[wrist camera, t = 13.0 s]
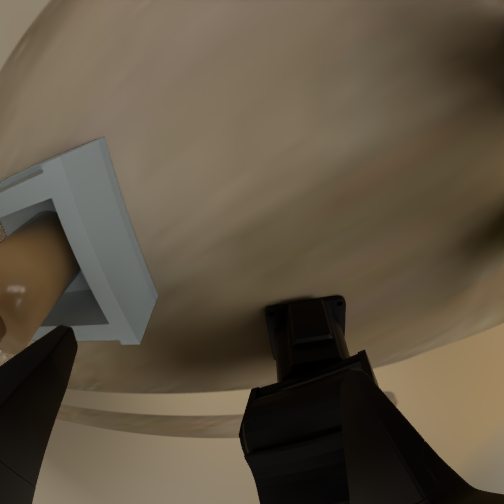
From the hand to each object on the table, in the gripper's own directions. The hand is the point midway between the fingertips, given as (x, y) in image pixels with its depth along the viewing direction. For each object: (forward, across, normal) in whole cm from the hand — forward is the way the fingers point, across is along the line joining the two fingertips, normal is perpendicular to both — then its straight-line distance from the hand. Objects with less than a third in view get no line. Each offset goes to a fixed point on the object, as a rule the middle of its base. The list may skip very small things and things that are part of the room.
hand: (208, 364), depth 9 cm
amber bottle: (+12, +14, +5) cm, 19 cm away
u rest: (+13, +14, +5) cm, 19 cm away
